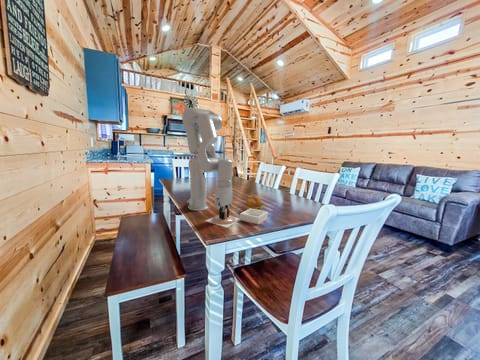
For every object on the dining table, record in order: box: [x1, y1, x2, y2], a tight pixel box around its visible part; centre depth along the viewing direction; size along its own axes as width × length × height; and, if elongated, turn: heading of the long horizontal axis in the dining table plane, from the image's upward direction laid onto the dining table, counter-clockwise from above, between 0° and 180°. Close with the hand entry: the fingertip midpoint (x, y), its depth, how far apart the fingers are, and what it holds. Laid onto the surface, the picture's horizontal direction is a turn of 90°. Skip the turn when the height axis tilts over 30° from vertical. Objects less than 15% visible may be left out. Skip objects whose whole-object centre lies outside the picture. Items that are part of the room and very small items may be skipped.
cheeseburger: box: [245, 196, 264, 211], centre depth 127 cm, size 10×11×10 cm
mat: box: [205, 216, 241, 228], centre depth 110 cm, size 14×14×1 cm
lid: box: [212, 208, 235, 225], centre depth 110 cm, size 12×12×6 cm
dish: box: [239, 208, 269, 225], centre depth 113 cm, size 11×11×4 cm
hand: (223, 217), depth 110 cm, fingers closed on lid, 3 cm apart
